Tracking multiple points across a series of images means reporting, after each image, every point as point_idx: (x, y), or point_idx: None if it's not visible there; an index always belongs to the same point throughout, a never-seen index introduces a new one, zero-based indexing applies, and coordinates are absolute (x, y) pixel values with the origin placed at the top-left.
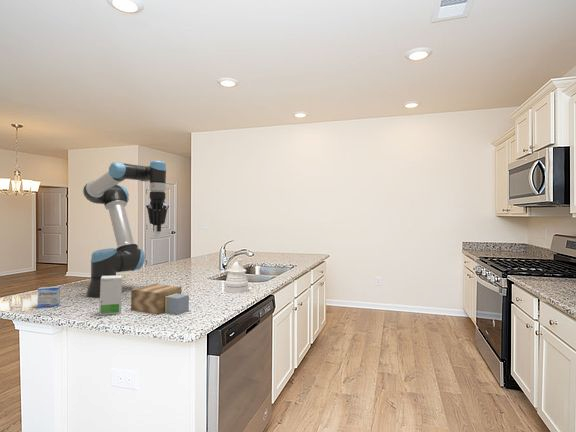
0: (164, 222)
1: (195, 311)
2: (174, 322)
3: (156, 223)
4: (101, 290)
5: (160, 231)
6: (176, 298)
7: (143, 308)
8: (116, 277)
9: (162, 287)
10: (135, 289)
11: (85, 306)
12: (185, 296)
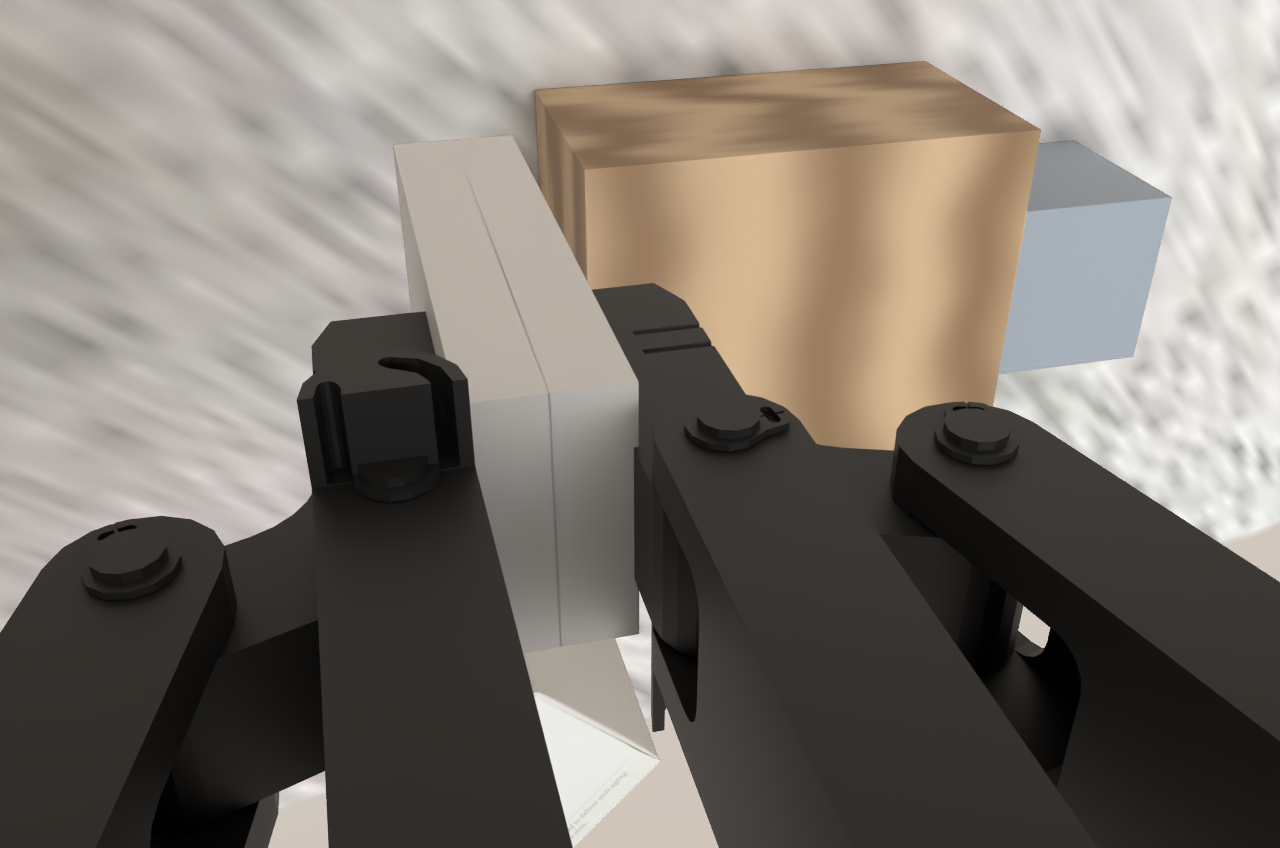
0: (1062, 454)
1: (1145, 126)
2: (1117, 427)
3: (670, 694)
4: None
5: (652, 289)
6: (1113, 357)
7: None
8: (613, 792)
9: (842, 277)
10: None
11: (32, 580)
12: (1155, 250)
